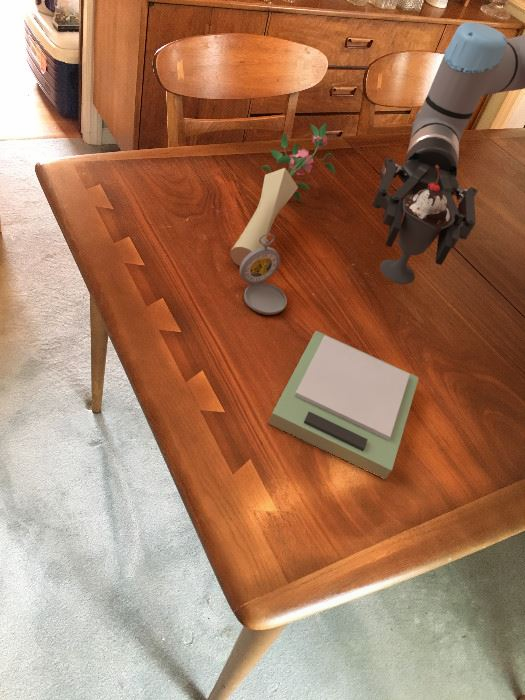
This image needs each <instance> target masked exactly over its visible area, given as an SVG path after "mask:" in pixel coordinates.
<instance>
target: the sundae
mask: <svg viewBox="0 0 525 700" xmlns="http://www.w3.org/2000/svg"><path fill="white" fill-rule="evenodd" d="M435 168H436V170H437V173H438V178H437V180H436V182H435V183H433V182H432V183H429V185H428V187H427V189H425V190H421V191H420V192H418V193H417V194H416V195H409V196H407V197H405V198H404V202H403V210H404V214H403V217H402V222H401V227H400V230H399V232H398V234H397V240H396V241H397V244H398V246H399V249H400V250H401V255H400V257H399V258H398V259H391V258H389V259H386V260H383V261H382V262H381V263H380V268H379V269H380V272H381V274H382V275H383V276H384V277H385V278H386V279H388V280H390V281H391V282H393V283H395V284H399V285H408V284H412V283H413V282H414V281H415V278H416V274H415V272H414V270H413V269H412V267H410V266H409V265H408V262H409V260H410V258H411V256H418V255H422V254H423V253H425V252H426V251H427V250H428V248H429V247H431V245H432V244H433V242H434V241H435V240H436V239H437V238H438V235H439V233H440V232H441V230H442V229H444V228H446V227H448V226H450V225H451V224H452V223H453V222H454V221H455V218H454V216H453V215H452V213H451V211H450V210H449V209H448V207H447V206H446V205H447V199H446V196H445V194H444V193H443V192H442V191H441V190H440V187H439V185H437V183H438V180H439V166H438V165H436V166H435Z"/></svg>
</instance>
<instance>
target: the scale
mask: <svg viewBox="0 0 525 700" xmlns="http://www.w3.org/2000/svg"><path fill="white" fill-rule="evenodd" d="M419 378H420V377H419V376H417V375H414V374H412V373H411V372H408V371H406V370H404V369H401V368H399V367H397V366H395V365H394V364H391V363H388V362H386V361H384V360H382V359H380V358H377V357H375V356H373V355H371V354H369V353H367V352H364V351H362V350H360V349H358V348H355V347H353V346H351V345H349V344H346V343H345V342H342V341H340V340H338V339H336V338H334V337H331V336H329V335H327V334H325V333H323V332H321V331H318V330H315V331H314V333H313V334H312V336H311V339H310V340H309V342H308V344H307V346H306V348H305V349H304V352H303V354H302V355H301V357H300V358H299V361H298V363H297V365H296V367H295V369H294V370H293V373H292V375H291V376H290V378H289V380H288V382H287V383H286V386H285V388H284V389H283V391H282V393H281V395H280V396H279V399H278V401H277V403H276V405H275V406H274V408H273V410H272V413H271V415H270V417H269V420H268V423H267V424H268V425H271V426H272V427H275V428H276V429H278V430H280V431H282V432H284V431H285V433H286V432H287V433H286V434H289V435H291V434H292V435H291V436H293V437H295V436H296V437H295V438H297V439H299V440H301V439H302V440H301V441H303V442H305V443H307V444H309V445H311V446H313V447H315V446H316V448H317V447H318V448H317V449H319V450H322V451H324V450H325V451H324V452H326V451H327V452H326V453H328V452H329V453H328V454H330V453H331V454H330V455H332V454H333V455H332V456H334V455H335V456H334V457H336V456H337V457H336V458H338V457H340V458H342V459H344V460H346V461H348V462H349V463H348V462H347V463H348V464H351V463H352V464H351V465H353V464H354V465H353V466H355V467H357V466H358V467H357V468H359V467H360V468H359V469H361V468H363V469H365V470H368V471H370V472H372V473H375V474H377V475H379V476H380V477H383V478H384V479H385V480H387V478H388V477H389V475H390V474H391V473H392V471H393V468H394V465H395V462H396V458H397V455H398V452H399V448H400V445H401V442H402V437H403V435H404V431H405V427H406V424H407V422H408V421H407V420H408V417H409V414H410V410H411V407H412V403H413V400H414V396H415V393H416V390H417V386H418V382H419ZM340 458H339V459H340ZM342 459H341V460H342ZM344 460H343V461H344ZM346 461H345V462H346ZM363 469H362V470H363ZM365 470H364V471H365ZM384 479H383V480H384Z"/></svg>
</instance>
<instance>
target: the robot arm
mask: <svg viewBox="0 0 525 700" xmlns="http://www.w3.org/2000/svg"><path fill="white" fill-rule="evenodd" d="M521 90H525V34H522V35H519V36H515V37H510V38H507V37H506V35H504V33H503V32H501V31H499V30H498V29H496V28H494V27H491V26H489V25H486V24H483V23H477V22H474V21H473V22H472V21H468V22H463V23H462V24H460V25H459V26H458V27H457V28H456V30H455V32H454V34H453V36H452V38H451V40H450V42H449V44H448V46H447V47H446V48H445V50H444V54H443V57H442V59H441V62H440V63H439V66H438V68H437V71H436V74H435V75H434V78H433V80H432V83H431V86H430V88H429V90H428V92H427V95H426V97H425V99H424V101H423V103H422V106H421V108H420V109H419V111H418V112H417V114H416V115H415V118H414V120H413V122H412V125H411V133H410V139H409V143H408V148H407V151H406V155H405V158H404V159H405V160H404V162H403V163H402V164H401V165H399V164H397V163H396V162H395V160H394V159H393V158H391V157H386V158H385V160H384V162H383V164H382V167H381V170H380V172H379V177H380V184H379V186H378V189H377V190H376V194H375V196H374V198H373V201H372V204H371V205H372V207H373V208H375V209H381V208H382V209H383V210H384V211H383V214H382V216H381V217H382V224H383V225H386V226H389V227H388V233H387V236H386V240H385V246H386V247H390V248H392V247H393V245H394V242H395V241H396V238H397V237H398V235H399V231H400V227H401V224H402V221H403V218H404V213H405V211H404V210H403V202H404V198H405V197H407V196H409V195H416V194H417V193H418V192H420V191H421V190H425V189H427V187H428V185H429V183H432V182H433V183H435V182H436V180H437V178H438V173H437V170H436V168H435V166H436V165H438V166H439V180H438V183H437V185H439V187H440V190H441V191H442V192H443V193H444V194H445V196H446V199H447V205H446V206H447V207H448V209H449V210H450V211H451V213H452V215H453V216H454V218H455V221H454V222H453V223H452V224H451V225H450V226H448V227H446V228H444V229H442V230H441V232H440V233H439V234H438V236H437V244H436V245H437V246H436V254H435V264H437V265H440V266H442V265H443V263H444V261H445V259H446V258H447V256H448V255H449V253H450V252H451V250H452V249H454V248H455V246H457V245H456V244H457V243H458V241H459V239H460V240H467V239H468V237H469V236H470V233H471V232H472V231H473V229H474V227H475V225H476V222H477V221H476V220H477V219H476V207H475V205H476V204H475V197H476V195H478V192H479V190H478V189H477V188H475V187H472V186H471V187H469V188H468V189H467V188H463V187H461V186H460V182H459V180H458V179H457V175H458V169H459V168H458V166H459V156H460V142H461V138H462V136H463V135H464V132H465V130H466V128H467V127H468V124H469V122H470V120H471V118H472V117H473V114H474V113H475V111H476V110H477V107H478V105H479V103H480V101H481V100H482V97H485V96H489V95H495V94H498V93H504V92H513V91H521ZM397 176H398V178H399V180H400V181H401V182H402V184H401V186H399V188H397V189H396V190H395V191H394V192H393V193H392V194H391V195H390V194H389V193H388V191H389V189H390V186H391V184H392V182H393V180H394V179H396V178H397ZM454 196H455V197H456V198H455V199H456V202H455V199H454Z"/></svg>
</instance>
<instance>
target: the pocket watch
mask: <svg viewBox="0 0 525 700" xmlns="http://www.w3.org/2000/svg"><path fill="white" fill-rule="evenodd" d="M266 235H268V236H270V237H272V239H271V241H269V239H267V240H266V241H265V242H263V243H262V242H261V239H262V237H264V236H266ZM274 241H275V235H273V233H269V234H264V235H263V236H261V237H260V239H259V242H260V244H262V245H263V246H264V247H261V248H258V249H256V250H254V251H252V252H251V253H249V254H248V255H247V256H246V257H245V258H244V259H243V261H242V263H241V265H240V266H239V276H240V278H241V279H242V280H243V281H244V282H245V283H247V284H249V285H248V286H247V287H246V288H245V289H244V294H243V299H244V302H245V304H246V305H247V307H249V308H250V309H251V310H252V311H254V312H256V313H258V314H262V315H266V316H267V315H268V316H270V315H277V314H279V313H281V312H283V311H284V309H285V308H286V306H287V304H288V299H287V296H286V294H285V292H284V291H283V290H282V289H280V287H278V286H276V285H274V284H272V283H269V282H265V281H266V280H268V279H269V278H271V277H272V276H273V275H274V274H275V273H276V272H277V270H278V269H279V267H280V264H281V256H280V254H279V251H277V250H276V249H275V248H273V247H271V246H270V245H271V244H272V243H273V242H274ZM269 246H270V247H269Z"/></svg>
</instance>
